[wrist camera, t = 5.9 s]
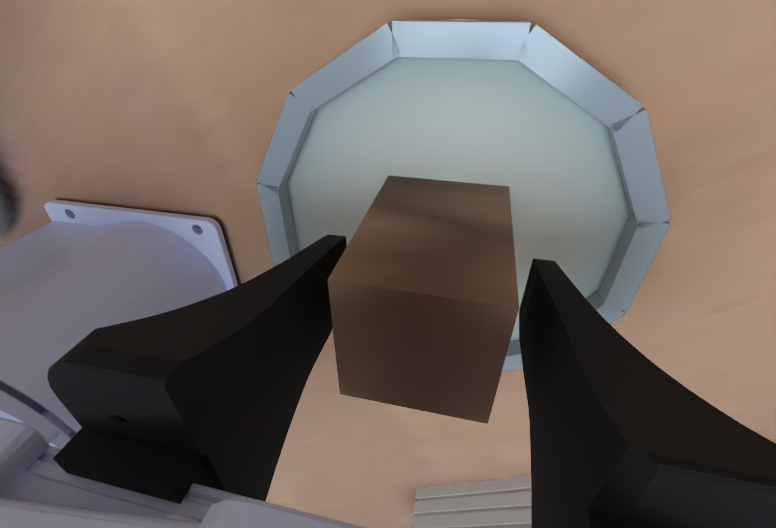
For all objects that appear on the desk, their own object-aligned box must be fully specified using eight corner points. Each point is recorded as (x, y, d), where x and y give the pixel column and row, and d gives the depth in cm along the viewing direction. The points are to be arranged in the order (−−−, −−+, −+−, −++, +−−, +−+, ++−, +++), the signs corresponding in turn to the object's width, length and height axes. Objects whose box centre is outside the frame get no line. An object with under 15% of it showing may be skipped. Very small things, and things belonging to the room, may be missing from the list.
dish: (307, 318, 20) (291, 346, 18) (256, 16, 12) (220, 19, 11) (576, 361, 17) (584, 398, 16) (722, 19, 10) (767, 24, 8)
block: (388, 269, 15) (340, 394, 10) (388, 175, 13) (327, 279, 8) (489, 283, 15) (487, 424, 10) (509, 186, 12) (519, 308, 7)
